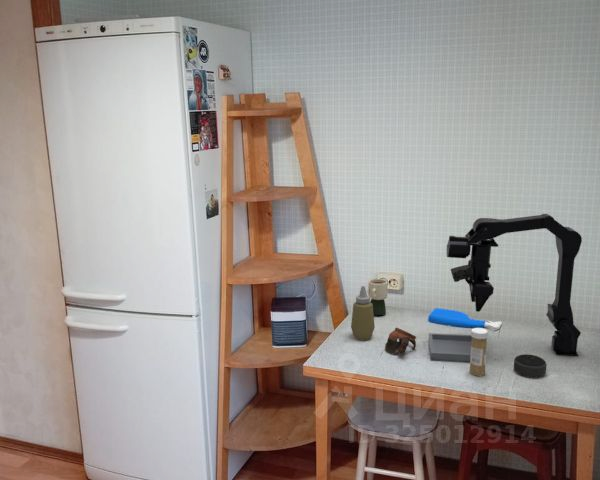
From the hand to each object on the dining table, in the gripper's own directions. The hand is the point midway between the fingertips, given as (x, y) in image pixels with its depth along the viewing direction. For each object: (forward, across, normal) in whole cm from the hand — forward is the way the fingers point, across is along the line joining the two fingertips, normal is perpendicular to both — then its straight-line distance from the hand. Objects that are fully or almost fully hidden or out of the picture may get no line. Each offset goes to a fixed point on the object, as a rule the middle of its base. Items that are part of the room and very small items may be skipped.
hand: (475, 306), depth 186 cm
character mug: (+16, -29, -30) cm, 45 cm away
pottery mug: (+16, +4, -23) cm, 28 cm away
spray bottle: (+15, -23, +1) cm, 27 cm away
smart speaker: (+14, +16, +14) cm, 25 cm away
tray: (+14, +3, -5) cm, 16 cm away
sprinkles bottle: (+14, +18, -1) cm, 23 cm away
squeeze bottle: (+16, -6, -35) cm, 39 cm away
